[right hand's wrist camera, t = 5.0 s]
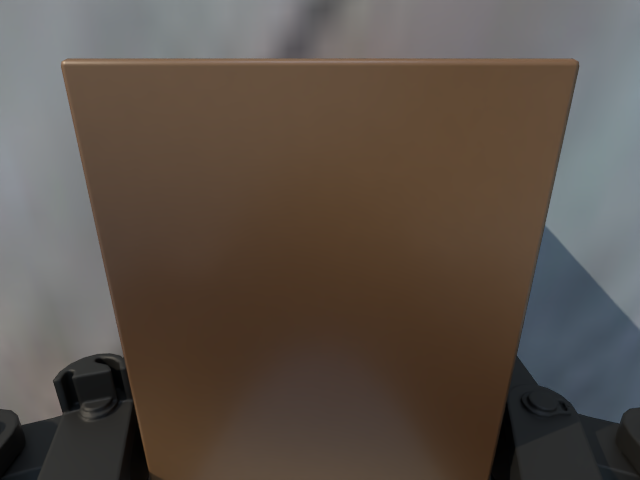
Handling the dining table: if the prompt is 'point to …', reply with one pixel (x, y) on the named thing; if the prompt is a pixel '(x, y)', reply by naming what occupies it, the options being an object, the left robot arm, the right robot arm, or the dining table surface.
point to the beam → (320, 254)
